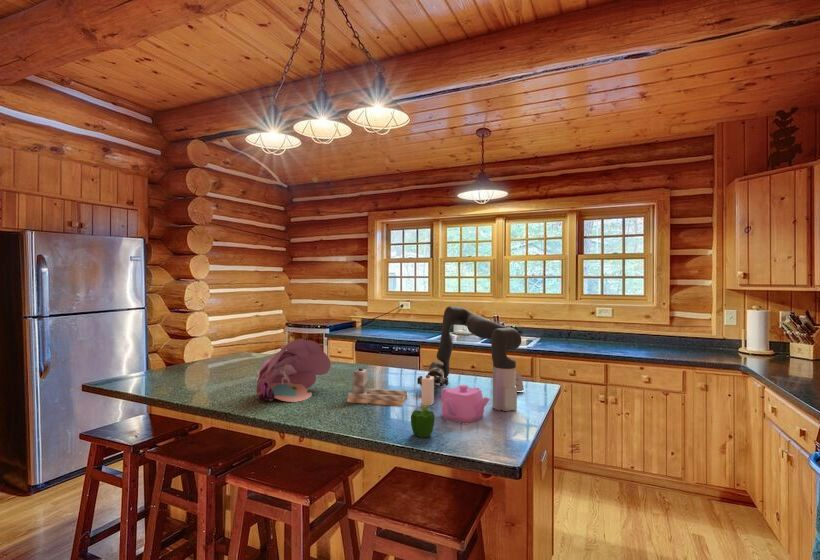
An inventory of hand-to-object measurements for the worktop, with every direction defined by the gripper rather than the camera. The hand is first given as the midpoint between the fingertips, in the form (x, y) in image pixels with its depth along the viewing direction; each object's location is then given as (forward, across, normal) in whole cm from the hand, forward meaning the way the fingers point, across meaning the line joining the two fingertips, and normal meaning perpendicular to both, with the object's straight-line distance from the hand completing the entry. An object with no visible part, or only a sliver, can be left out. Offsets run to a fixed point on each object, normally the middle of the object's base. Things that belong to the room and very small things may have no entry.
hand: (431, 384), depth 194 cm
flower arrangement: (+12, -62, +6) cm, 64 cm away
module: (+9, 0, +6) cm, 11 cm away
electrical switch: (-18, +37, +6) cm, 42 cm away
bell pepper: (+48, +4, +6) cm, 48 cm away
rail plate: (+10, -22, +6) cm, 25 cm away
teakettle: (+25, +16, +6) cm, 31 cm away
